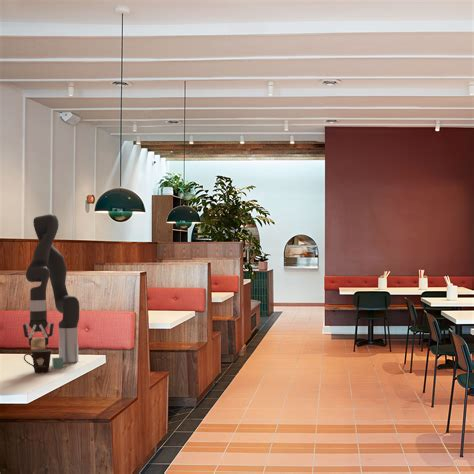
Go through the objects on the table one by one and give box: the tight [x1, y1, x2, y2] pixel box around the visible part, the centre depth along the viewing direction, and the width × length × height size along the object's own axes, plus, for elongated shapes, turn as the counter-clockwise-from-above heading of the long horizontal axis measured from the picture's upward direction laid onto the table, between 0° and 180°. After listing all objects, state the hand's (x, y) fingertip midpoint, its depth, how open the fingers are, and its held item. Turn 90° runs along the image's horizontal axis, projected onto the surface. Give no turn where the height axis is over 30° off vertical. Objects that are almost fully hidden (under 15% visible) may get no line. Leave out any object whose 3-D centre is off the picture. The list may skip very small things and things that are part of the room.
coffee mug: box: [23, 348, 52, 374], centre depth 318 cm, size 12×9×10 cm
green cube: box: [51, 356, 64, 369], centre depth 330 cm, size 4×4×4 cm
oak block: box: [30, 336, 47, 351], centre depth 319 cm, size 6×11×4 cm, turn 12°
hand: (38, 345), depth 319 cm, fingers closed on oak block, 6 cm apart
